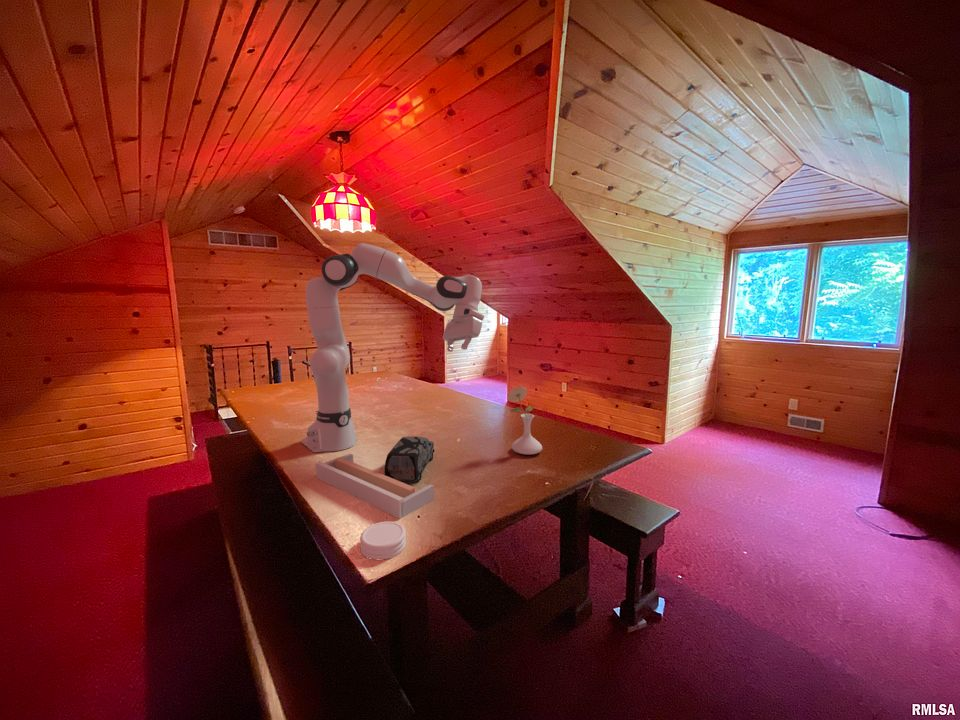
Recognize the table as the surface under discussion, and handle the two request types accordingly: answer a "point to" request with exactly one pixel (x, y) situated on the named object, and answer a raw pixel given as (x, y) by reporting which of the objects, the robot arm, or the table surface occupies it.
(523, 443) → the flower in vase
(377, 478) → the tan wooden bar
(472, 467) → the table surface
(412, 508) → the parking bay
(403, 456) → the black mottled block
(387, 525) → the coaster
